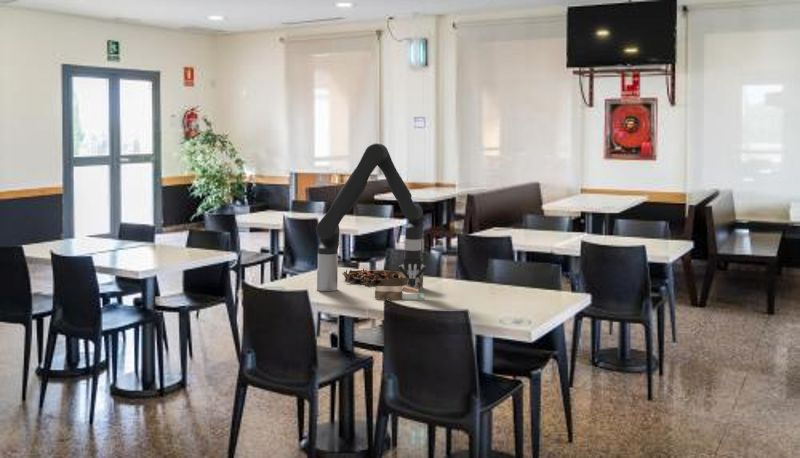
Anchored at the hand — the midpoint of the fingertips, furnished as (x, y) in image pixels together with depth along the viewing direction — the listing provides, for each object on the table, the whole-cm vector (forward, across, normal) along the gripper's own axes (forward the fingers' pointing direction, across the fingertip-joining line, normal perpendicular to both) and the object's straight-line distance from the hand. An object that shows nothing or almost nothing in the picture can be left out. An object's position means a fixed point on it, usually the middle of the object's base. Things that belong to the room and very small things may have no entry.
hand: (412, 286), depth 378 cm
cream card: (+4, -1, -7) cm, 8 cm away
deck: (+4, -10, -3) cm, 12 cm away
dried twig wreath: (+5, -17, +35) cm, 39 cm away
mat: (+4, +1, -3) cm, 5 cm away
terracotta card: (+3, -1, +1) cm, 3 cm away
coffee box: (+4, +2, +16) cm, 16 cm away
